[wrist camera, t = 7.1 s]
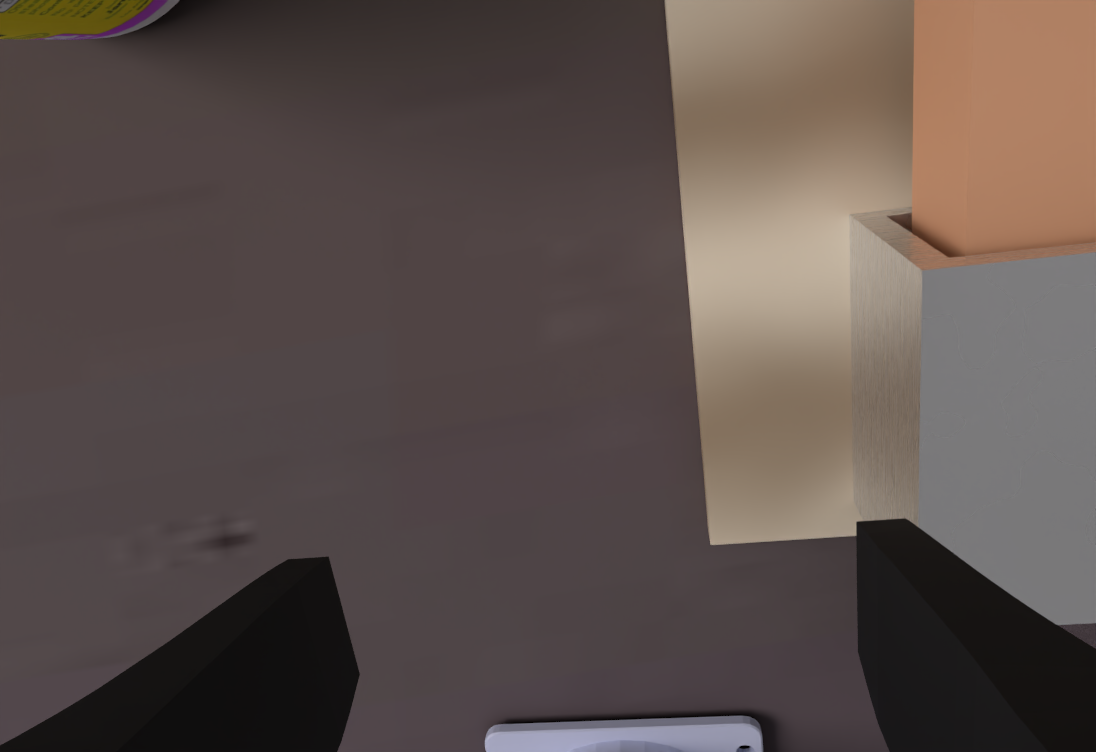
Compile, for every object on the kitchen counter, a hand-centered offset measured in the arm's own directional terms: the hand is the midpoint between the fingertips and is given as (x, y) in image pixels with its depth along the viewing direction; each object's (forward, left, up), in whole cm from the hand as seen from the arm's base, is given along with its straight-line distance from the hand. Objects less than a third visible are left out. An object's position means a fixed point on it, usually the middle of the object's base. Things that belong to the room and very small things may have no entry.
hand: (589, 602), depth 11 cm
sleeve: (0, -8, -9) cm, 12 cm away
